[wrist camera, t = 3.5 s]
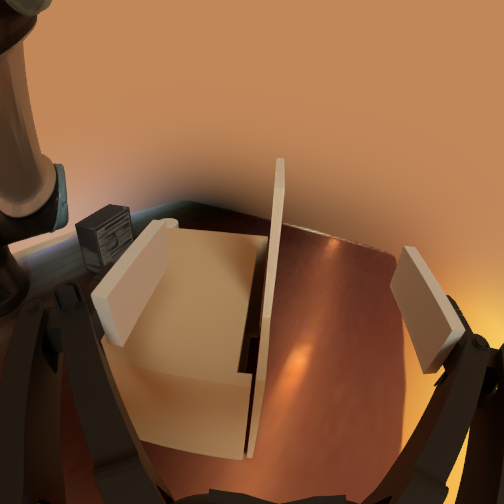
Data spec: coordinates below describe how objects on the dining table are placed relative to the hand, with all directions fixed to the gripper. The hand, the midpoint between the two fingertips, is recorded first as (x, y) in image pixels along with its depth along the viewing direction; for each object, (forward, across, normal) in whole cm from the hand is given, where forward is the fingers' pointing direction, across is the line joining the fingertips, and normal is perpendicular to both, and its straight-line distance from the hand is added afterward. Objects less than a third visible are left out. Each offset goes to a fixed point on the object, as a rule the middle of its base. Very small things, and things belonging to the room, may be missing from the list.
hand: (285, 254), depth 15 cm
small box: (+31, -33, -24) cm, 51 cm away
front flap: (+7, 0, -23) cm, 24 cm away
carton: (+7, -8, -24) cm, 26 cm away
